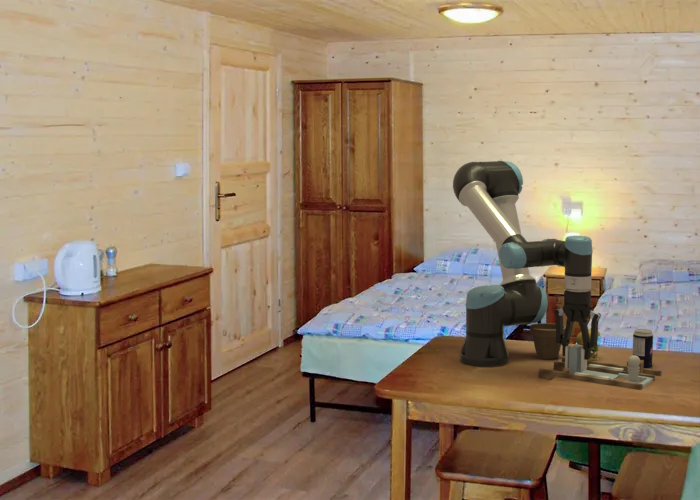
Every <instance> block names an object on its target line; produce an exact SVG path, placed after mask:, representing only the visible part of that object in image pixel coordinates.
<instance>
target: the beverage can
mask: <svg viewBox="0 0 700 500" xmlns="http://www.w3.org/2000/svg"><path fill="white" fill-rule="evenodd" d="M653 344H654V334H653V331H652V330H651V329H646V328H636V329H634V332H633V335H632V355H636V356H638V357H639V358H640V360H644V368H646V369H652V368H653V352H654V349H653V348H654V347H653V346H654V345H653Z"/></svg>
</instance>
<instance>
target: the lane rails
mask: <svg viewBox="0 0 700 500" xmlns="http://www.w3.org/2000/svg"><path fill="white" fill-rule="evenodd" d="M564 370H565V357H564V356H562V357H561V360H560V361H559V360H553V369H546V368H538V370H537V374H538V375H537V377H538V378H539V379H545V380H550V381H552V380H554V379H555V378H562V379H568V380H569V379H570V380H575V381H576V380H577V381H582V382H588V383H594V384H600V385H608V386H613V387H614V386H615V387H619V388H626V389H633V390H639V391H640V390H643V389H642V384H638V383H632V382H625V381H626V380H620V381H619V379H614V380H612V379H610V377H606V376H600V375H593V374H587V373H580V372H575V373H574V374H573V373H569V372H567V371H565V372H564ZM586 370H590V371H596V372H603V373H610V374H616V375H618V374H619V373H623V374H628V371H627V365H624V364H617V363H610V362H603V361H598V360H596V361H590V360H587V369H586ZM638 376H644V377H650V378H653V382H654V381H655V379H656V377H661V376H662V370H659V369H652V368H644V370H643V373H638Z"/></svg>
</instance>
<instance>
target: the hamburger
mask: <svg viewBox="0 0 700 500" xmlns="http://www.w3.org/2000/svg"><path fill="white" fill-rule="evenodd" d="M588 331H589V337H590V336H591V328H588ZM599 337H601V333H600V331H599V330H598V338H597V340H599ZM575 341H576V344H578V345H583V339H582V334H581V331H580V332H579V333H578V334H577V335H576V339H575ZM583 347H584V345H583ZM599 347H600V345H599V344H597V346H595V347H593V348H591V349H590V359H588V360H590V361H599V360H600V358H599V357H598V352H599V350H600V349H599Z"/></svg>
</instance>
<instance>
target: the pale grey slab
mask: <svg viewBox="0 0 700 500" xmlns="http://www.w3.org/2000/svg"><path fill="white" fill-rule="evenodd" d="M582 348H583V345H578V344H577V343H576V344H574V345H571V347H570V358H569V368H568V369H569V370H568V373H573V374H574V373H575V372H580V373H587V374H593V375H600V376H606V377H610V379H612V380H617V379H618V378H620V379H627V380H628V374H623V373H619V374H618V375H616V374H610V373H603V372H596V371H590V370H585V371H581V349H582ZM618 380H619V379H618ZM638 380H639V381H640V382H641V383H638V384H642V389H641V390H643V389H644V388H645V387H647V386H648V385H650V384H651V383H653V382H654V381H653V378H650V377H644V376H638ZM619 381H621V380H619ZM624 381H625V382H627V381H626V380H624ZM632 383H633V382H632Z"/></svg>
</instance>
